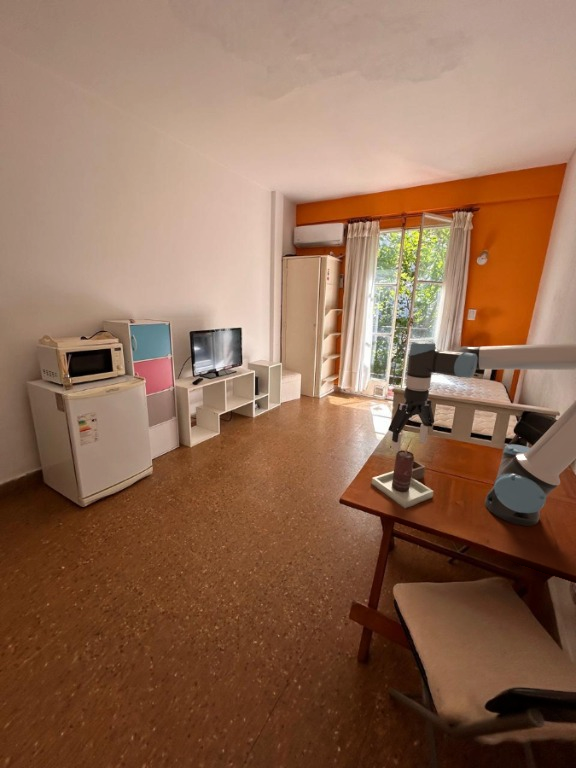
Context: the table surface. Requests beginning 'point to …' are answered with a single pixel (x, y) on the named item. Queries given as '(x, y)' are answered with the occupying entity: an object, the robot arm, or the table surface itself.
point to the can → (402, 471)
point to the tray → (405, 499)
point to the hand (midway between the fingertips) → (409, 446)
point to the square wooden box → (418, 470)
